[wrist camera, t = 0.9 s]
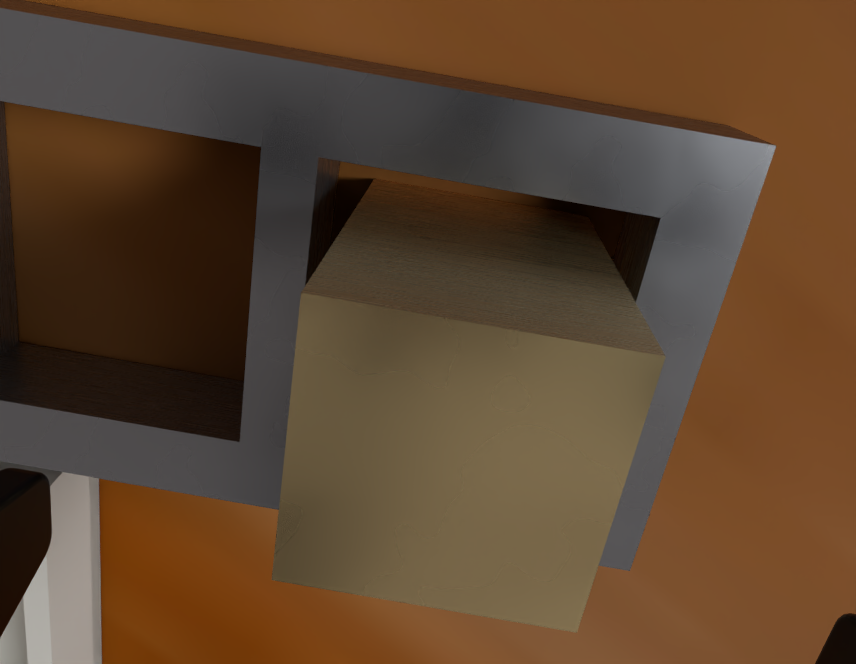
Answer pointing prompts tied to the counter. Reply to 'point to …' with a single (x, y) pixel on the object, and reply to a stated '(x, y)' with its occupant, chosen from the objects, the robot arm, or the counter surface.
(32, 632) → the parts tray
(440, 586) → the block
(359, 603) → the counter surface
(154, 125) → the grey rectangular frame
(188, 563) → the counter surface
